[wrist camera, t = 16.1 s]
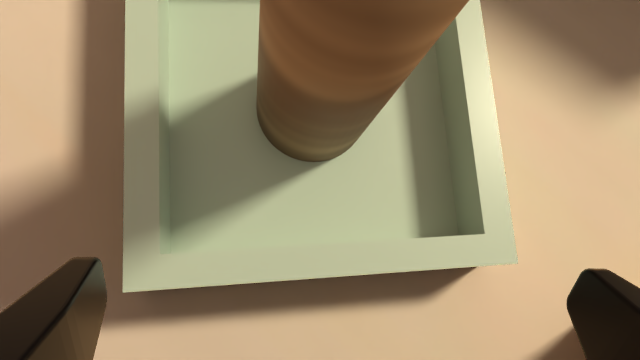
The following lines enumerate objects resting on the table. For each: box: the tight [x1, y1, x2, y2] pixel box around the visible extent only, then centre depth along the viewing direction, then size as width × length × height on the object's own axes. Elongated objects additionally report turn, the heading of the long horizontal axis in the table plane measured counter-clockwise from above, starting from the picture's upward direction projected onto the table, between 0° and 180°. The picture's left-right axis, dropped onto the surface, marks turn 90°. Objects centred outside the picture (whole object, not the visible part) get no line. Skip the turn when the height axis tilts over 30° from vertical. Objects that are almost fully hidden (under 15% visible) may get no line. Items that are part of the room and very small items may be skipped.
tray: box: [123, 0, 518, 293], centre depth 16 cm, size 12×12×2 cm
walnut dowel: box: [256, 0, 469, 162], centre depth 11 cm, size 4×4×12 cm
